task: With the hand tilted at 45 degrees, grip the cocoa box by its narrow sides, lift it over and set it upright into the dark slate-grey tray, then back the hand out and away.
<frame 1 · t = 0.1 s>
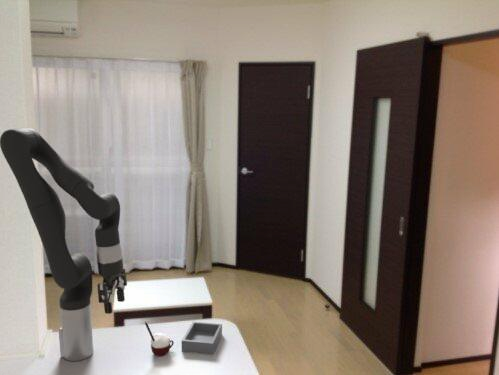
hand: (115, 307, 149), 17 cm above the table, tool pointing down, fingers open, 8 cm apart
dock tray: (202, 342, 162), on the table
cocoa: (160, 354, 155), on the table
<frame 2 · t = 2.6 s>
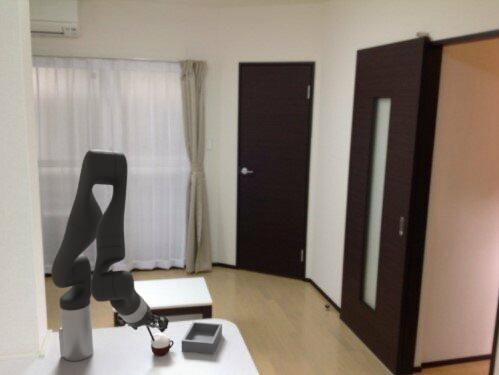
hand: (149, 327, 145), 13 cm above the table, tool tilted 45°, fingers open, 8 cm apart
nothing on the table moved.
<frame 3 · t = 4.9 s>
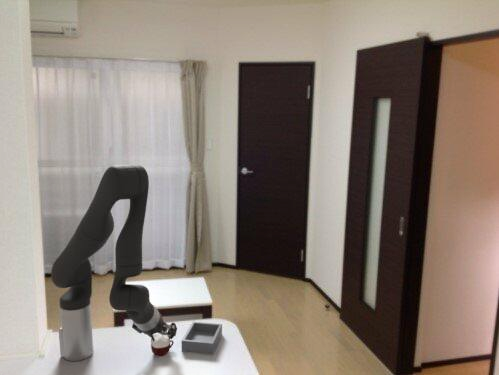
hand: (161, 335, 156), 6 cm above the table, tool tilted 45°, fingers closed on cocoa, 6 cm apart
cocoa: (160, 353, 155), on the table, touching gripper
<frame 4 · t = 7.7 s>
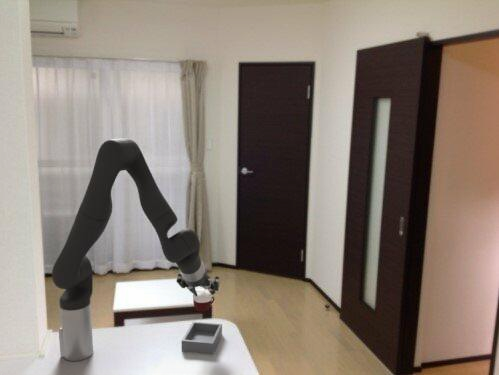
hand: (203, 291, 160), 18 cm above the table, tool tilted 45°, fingers closed on cocoa, 6 cm apart
cocoa: (201, 309, 159), point 12 cm above the table, touching gripper
when the fingers open (8 cm above the table, at t = 10.7 s): cocoa drops 1 cm, resting on dock tray.
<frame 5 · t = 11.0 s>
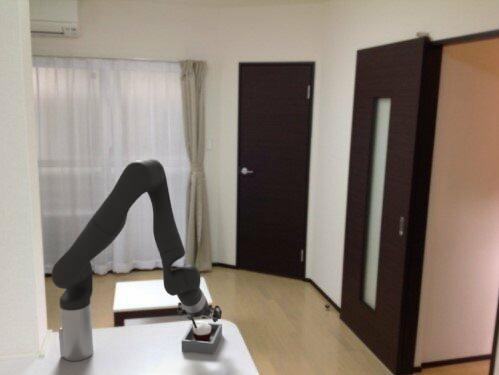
hand: (203, 318, 162), 8 cm above the table, tool tilted 45°, fingers open, 8 cm apart
cocoa: (201, 340, 162), point 1 cm above the table, touching dock tray
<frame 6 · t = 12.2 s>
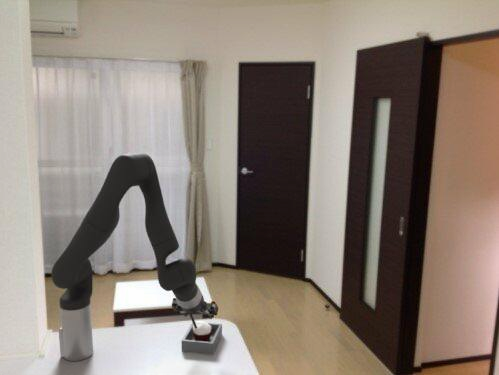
hand: (199, 314, 156), 12 cm above the table, tool tilted 45°, fingers open, 8 cm apart
nothing on the table moved.
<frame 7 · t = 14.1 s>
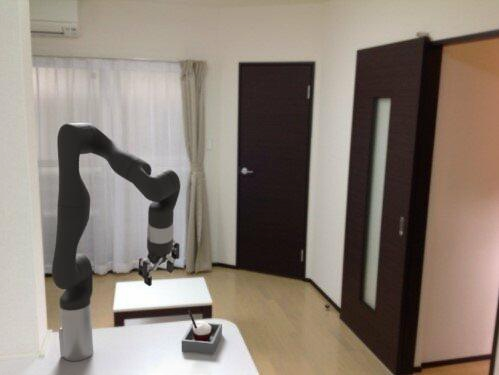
hand: (159, 277, 144), 28 cm above the table, tool tilted 20°, fingers open, 8 cm apart
nothing on the table moved.
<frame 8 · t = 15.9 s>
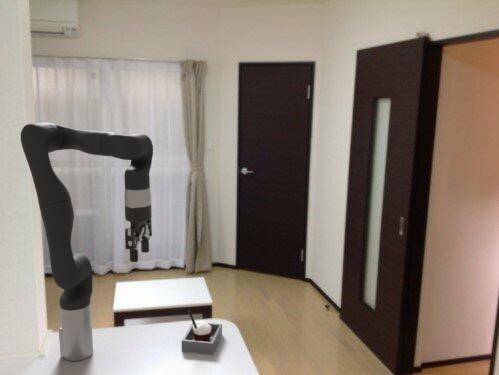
hand: (139, 256, 140), 36 cm above the table, tool pointing down, fingers open, 8 cm apart
nothing on the table moved.
at the end: cocoa 0.4 cm off-centre on the dock tray, point 0.8 cm above the dock tray's base; cocoa tilted 0°; the gripper is holding nothing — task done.
